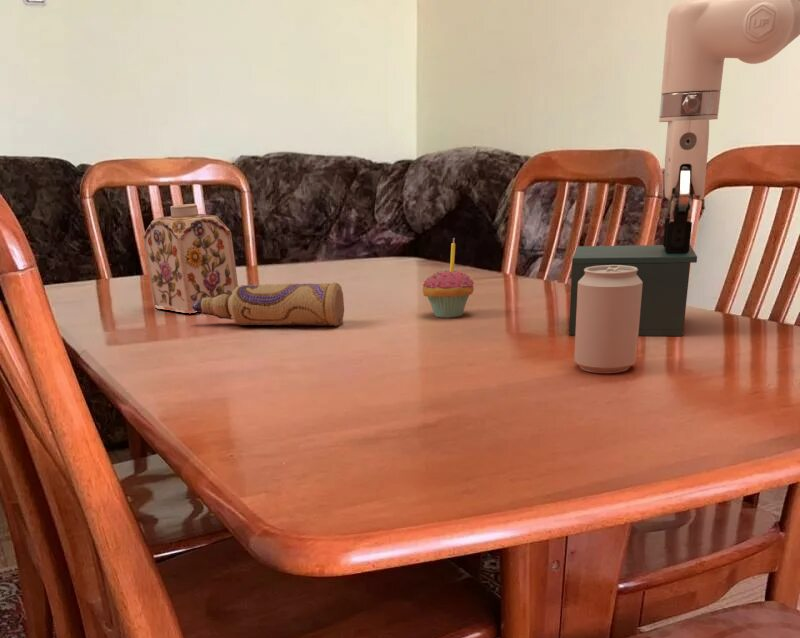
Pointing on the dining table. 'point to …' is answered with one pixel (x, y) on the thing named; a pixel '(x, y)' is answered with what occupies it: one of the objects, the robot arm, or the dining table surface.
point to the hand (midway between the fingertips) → (675, 248)
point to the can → (607, 318)
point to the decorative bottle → (278, 304)
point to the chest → (649, 296)
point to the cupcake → (448, 290)
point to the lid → (630, 255)
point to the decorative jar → (189, 258)
